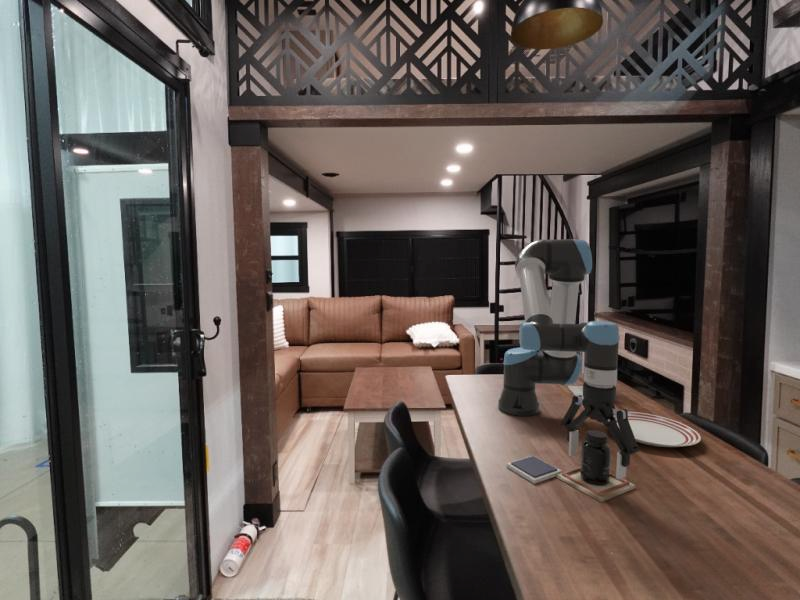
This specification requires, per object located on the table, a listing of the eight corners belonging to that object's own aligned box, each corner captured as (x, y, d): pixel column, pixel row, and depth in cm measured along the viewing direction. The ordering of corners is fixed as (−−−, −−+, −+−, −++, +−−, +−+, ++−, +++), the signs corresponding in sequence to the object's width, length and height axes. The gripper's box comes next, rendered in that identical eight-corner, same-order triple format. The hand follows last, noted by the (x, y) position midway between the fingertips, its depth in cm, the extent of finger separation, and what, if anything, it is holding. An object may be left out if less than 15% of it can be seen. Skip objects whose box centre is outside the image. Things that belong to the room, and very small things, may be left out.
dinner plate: (684, 425, 146) (685, 416, 145) (714, 460, 120) (715, 449, 120) (597, 415, 155) (598, 407, 154) (608, 446, 129) (608, 436, 129)
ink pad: (506, 467, 115) (506, 462, 115) (532, 458, 120) (533, 454, 120) (534, 483, 107) (534, 478, 107) (561, 474, 112) (561, 469, 111)
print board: (556, 477, 110) (556, 472, 110) (589, 465, 116) (589, 461, 116) (601, 502, 99) (601, 496, 98) (635, 488, 105) (635, 482, 105)
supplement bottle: (613, 487, 103) (615, 440, 102) (583, 484, 105) (585, 438, 104) (605, 474, 110) (607, 429, 109) (577, 471, 111) (579, 427, 110)
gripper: (549, 374, 114) (546, 449, 116) (639, 400, 92) (634, 492, 94) (568, 370, 118) (565, 443, 120) (659, 395, 96) (653, 484, 98)
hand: (595, 465), depth 107 cm, fingers open, 13 cm apart
